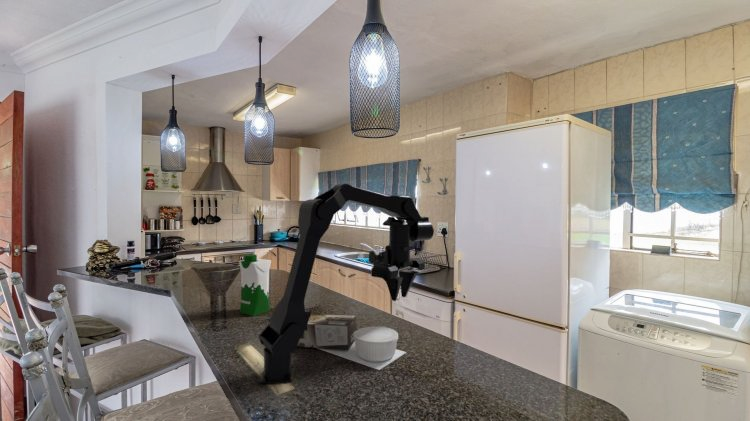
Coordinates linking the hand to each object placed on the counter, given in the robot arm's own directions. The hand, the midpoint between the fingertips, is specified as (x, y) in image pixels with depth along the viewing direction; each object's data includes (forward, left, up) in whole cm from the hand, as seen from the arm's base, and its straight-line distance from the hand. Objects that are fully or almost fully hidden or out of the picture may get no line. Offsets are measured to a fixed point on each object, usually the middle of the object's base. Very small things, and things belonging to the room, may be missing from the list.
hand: (399, 298), depth 97 cm
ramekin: (-8, +8, -12) cm, 16 cm away
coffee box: (+5, +28, -9) cm, 30 cm away
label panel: (-4, +12, -12) cm, 17 cm away
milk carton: (+32, +44, -12) cm, 56 cm away
